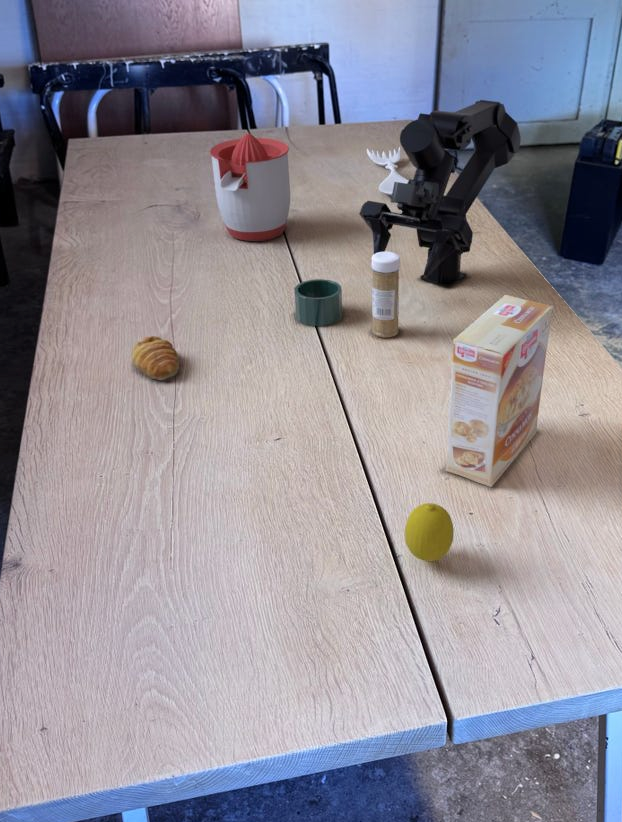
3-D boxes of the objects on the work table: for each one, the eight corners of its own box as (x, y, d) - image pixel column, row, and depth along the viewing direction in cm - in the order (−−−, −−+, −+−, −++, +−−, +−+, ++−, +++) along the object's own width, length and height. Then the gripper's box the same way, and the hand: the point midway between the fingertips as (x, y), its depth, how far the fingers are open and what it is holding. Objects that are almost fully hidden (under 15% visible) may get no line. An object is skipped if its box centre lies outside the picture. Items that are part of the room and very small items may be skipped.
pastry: (190, 375, 136) (187, 353, 134) (149, 387, 133) (145, 365, 131) (168, 350, 142) (165, 329, 140) (129, 362, 140) (124, 340, 137)
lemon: (401, 545, 104) (402, 491, 99) (447, 542, 104) (451, 488, 99) (407, 577, 99) (408, 523, 95) (455, 573, 100) (459, 519, 95)
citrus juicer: (200, 243, 179) (187, 142, 166) (241, 214, 191) (232, 119, 179) (269, 254, 174) (260, 151, 162) (306, 224, 187) (301, 126, 174)
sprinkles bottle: (403, 329, 148) (405, 253, 140) (391, 341, 144) (392, 263, 136) (379, 324, 149) (379, 248, 141) (366, 335, 146) (366, 258, 138)
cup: (317, 301, 157) (316, 275, 154) (351, 313, 152) (350, 287, 149) (286, 317, 152) (284, 290, 149) (321, 330, 148) (319, 303, 145)
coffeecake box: (492, 488, 112) (505, 354, 100) (443, 471, 115) (450, 339, 104) (538, 433, 122) (555, 304, 111) (492, 418, 125) (503, 292, 114)
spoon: (400, 159, 222) (401, 145, 220) (421, 202, 197) (422, 187, 194) (365, 160, 221) (365, 146, 219) (382, 204, 196) (382, 189, 194)
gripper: (363, 151, 142) (333, 240, 141) (470, 167, 135) (439, 261, 134) (385, 185, 153) (357, 268, 152) (485, 201, 146) (456, 288, 145)
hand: (400, 270), depth 145 cm, fingers open, 9 cm apart
